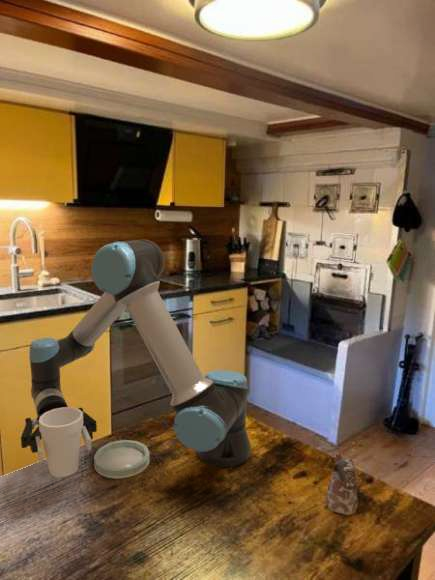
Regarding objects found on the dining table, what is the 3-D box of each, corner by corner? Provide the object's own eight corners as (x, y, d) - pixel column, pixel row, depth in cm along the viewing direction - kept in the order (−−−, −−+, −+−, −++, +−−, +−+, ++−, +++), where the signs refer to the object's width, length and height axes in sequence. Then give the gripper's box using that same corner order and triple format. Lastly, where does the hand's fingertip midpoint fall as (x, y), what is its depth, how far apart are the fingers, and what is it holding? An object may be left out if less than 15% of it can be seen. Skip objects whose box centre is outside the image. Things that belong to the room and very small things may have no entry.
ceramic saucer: (160, 459, 116) (160, 452, 116) (119, 486, 105) (119, 478, 104) (124, 440, 124) (124, 434, 124) (82, 463, 113) (82, 456, 113)
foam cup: (71, 484, 94) (68, 429, 92) (33, 478, 96) (29, 424, 94) (92, 459, 104) (90, 409, 101) (57, 454, 105) (54, 405, 103)
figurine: (339, 518, 96) (343, 470, 94) (319, 498, 102) (323, 453, 100) (363, 509, 99) (368, 462, 97) (342, 491, 105) (346, 446, 103)
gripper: (94, 412, 120) (116, 453, 101) (6, 430, 110) (11, 480, 90) (93, 387, 118) (115, 423, 99) (3, 403, 108) (8, 447, 89)
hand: (65, 450), depth 95 cm, fingers closed on foam cup, 9 cm apart
